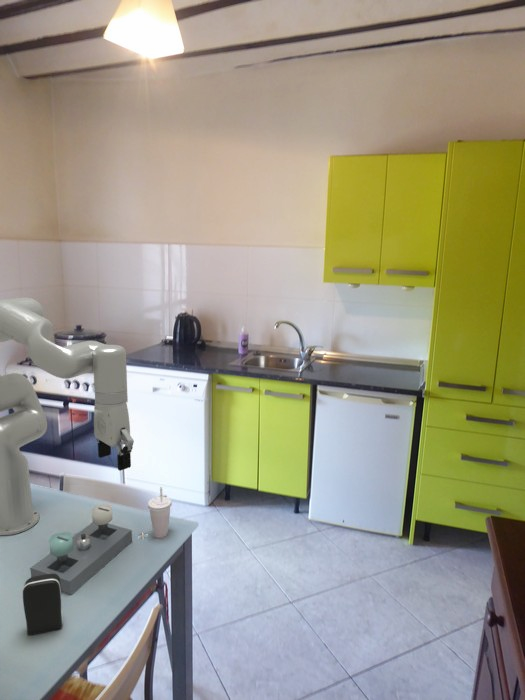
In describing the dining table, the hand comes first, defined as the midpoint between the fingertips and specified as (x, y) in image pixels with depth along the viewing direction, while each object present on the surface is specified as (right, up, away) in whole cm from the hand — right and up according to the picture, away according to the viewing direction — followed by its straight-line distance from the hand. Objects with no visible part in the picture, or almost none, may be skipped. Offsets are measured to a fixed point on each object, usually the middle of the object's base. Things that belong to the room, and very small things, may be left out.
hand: (114, 462), depth 118 cm
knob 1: (-10, -21, -6) cm, 25 cm away
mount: (-8, -25, +1) cm, 26 cm away
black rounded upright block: (-8, -30, -20) cm, 36 cm away
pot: (-8, -22, +1) cm, 23 cm away
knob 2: (-5, -19, +7) cm, 21 cm away
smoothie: (+9, -23, +13) cm, 28 cm away
